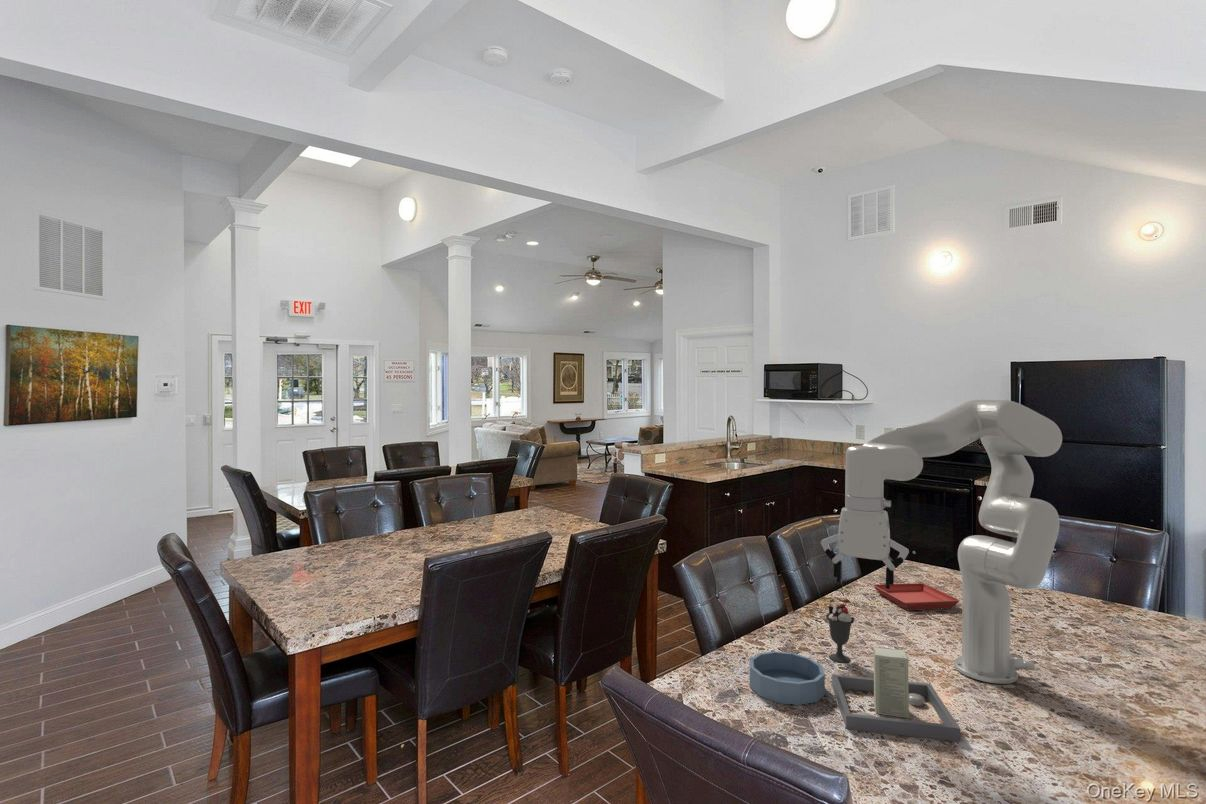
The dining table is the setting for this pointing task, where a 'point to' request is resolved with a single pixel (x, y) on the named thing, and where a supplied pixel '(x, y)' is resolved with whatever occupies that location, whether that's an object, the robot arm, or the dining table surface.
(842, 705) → the gray rectangular frame
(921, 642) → the dining table surface
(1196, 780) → the dining table surface
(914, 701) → the pebble
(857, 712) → the pebble
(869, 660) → the dining table surface
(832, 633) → the sundae
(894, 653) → the skincare box
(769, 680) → the bowl
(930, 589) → the plant saucer
